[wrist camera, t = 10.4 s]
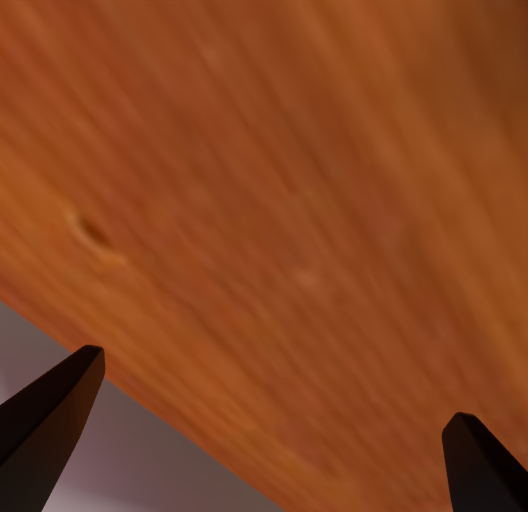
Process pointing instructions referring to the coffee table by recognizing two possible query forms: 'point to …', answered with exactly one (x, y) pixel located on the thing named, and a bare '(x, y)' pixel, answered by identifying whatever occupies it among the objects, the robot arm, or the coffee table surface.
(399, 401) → the coffee table surface
